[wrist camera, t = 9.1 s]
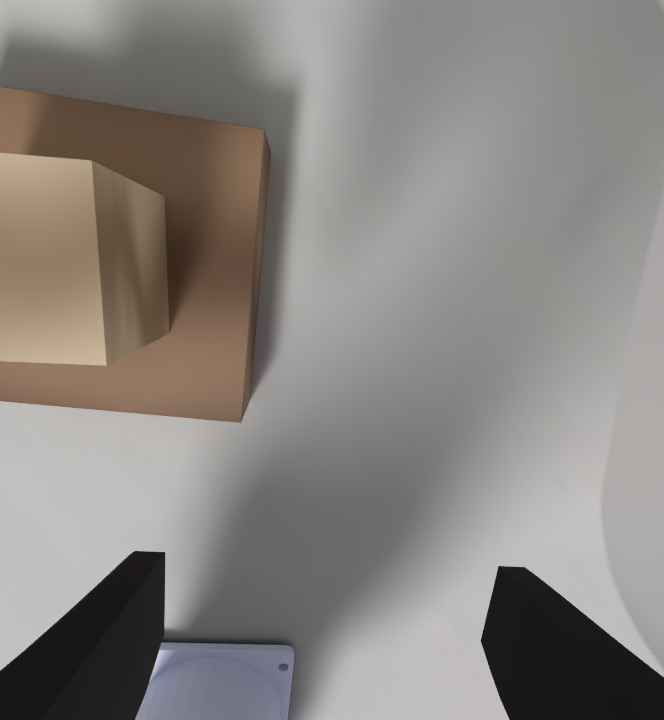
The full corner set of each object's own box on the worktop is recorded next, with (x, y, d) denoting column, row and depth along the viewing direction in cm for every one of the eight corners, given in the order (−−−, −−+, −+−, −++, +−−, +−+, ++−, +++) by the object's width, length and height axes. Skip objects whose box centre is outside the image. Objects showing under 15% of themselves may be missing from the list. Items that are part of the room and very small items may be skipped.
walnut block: (251, 396, 18) (240, 422, 15) (13, 373, 17) (-48, 396, 14) (271, 155, 15) (264, 129, 12) (-3, 112, 14) (-81, 73, 11)
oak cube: (169, 333, 14) (106, 365, 9) (33, 326, 13) (-99, 356, 9) (164, 196, 13) (91, 160, 8) (16, 185, 12) (-141, 141, 8)
